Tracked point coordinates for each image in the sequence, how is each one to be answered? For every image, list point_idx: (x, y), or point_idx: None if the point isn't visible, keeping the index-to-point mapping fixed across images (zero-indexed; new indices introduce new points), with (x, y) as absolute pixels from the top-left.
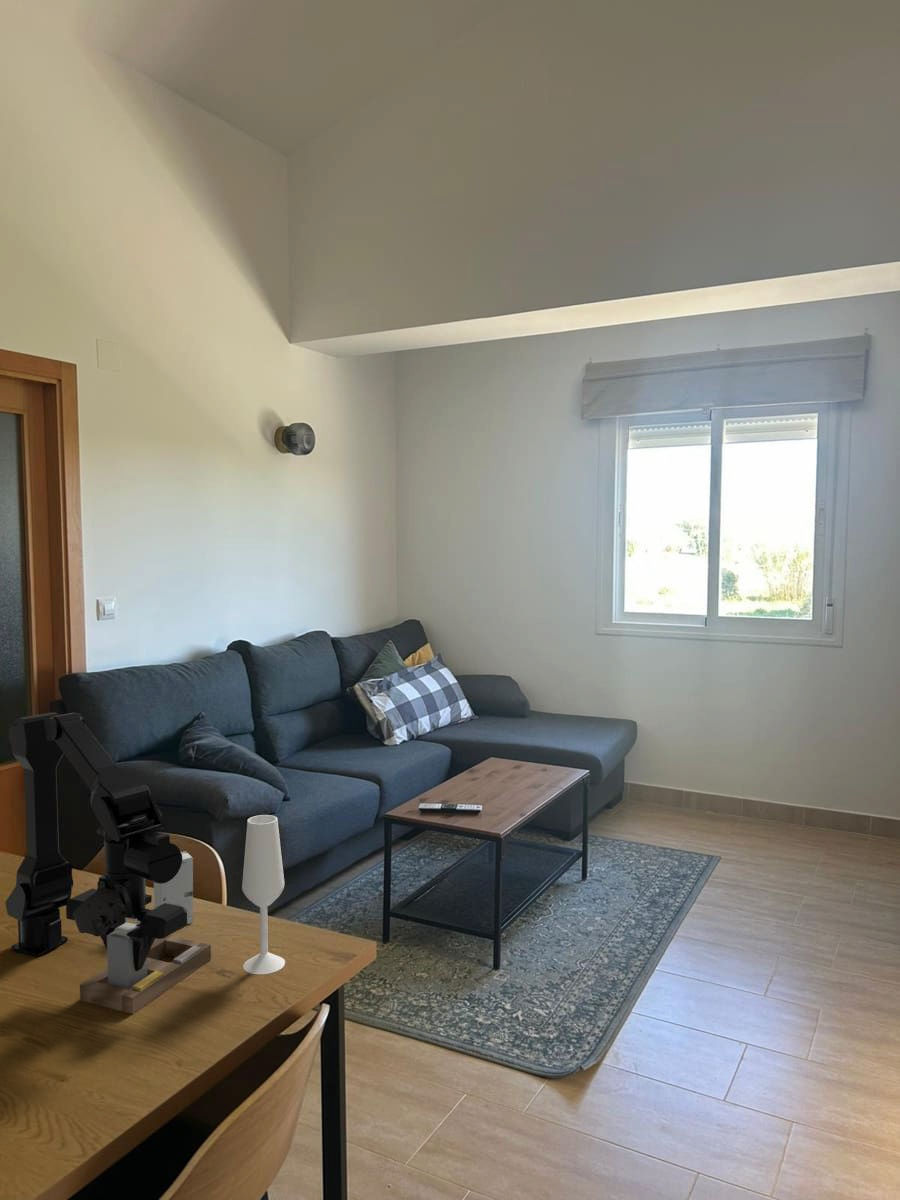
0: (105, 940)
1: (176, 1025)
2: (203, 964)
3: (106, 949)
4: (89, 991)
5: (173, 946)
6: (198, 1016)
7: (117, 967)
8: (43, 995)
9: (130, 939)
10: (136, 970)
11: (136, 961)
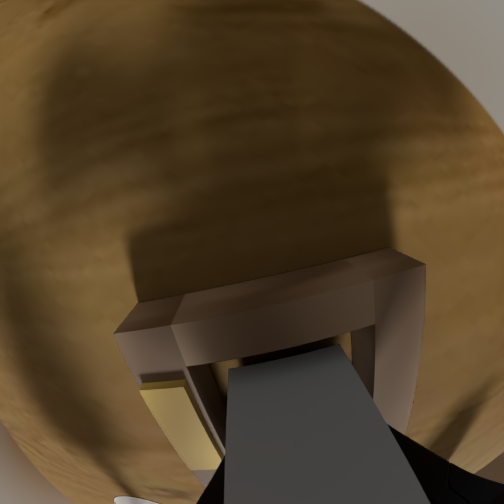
0: (456, 492)
1: (19, 324)
2: None
3: (431, 454)
4: (367, 272)
5: None
6: (31, 373)
7: (306, 426)
8: (484, 202)
9: None
10: None
11: (214, 487)
